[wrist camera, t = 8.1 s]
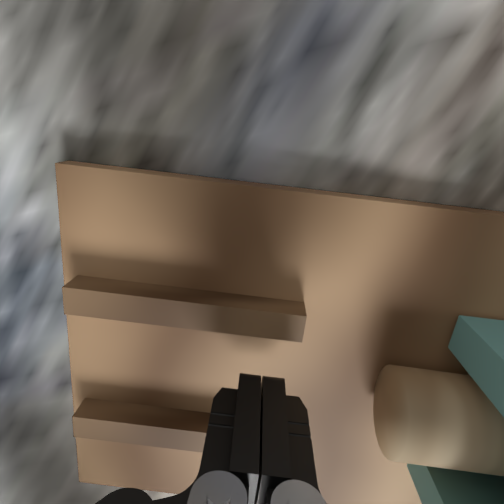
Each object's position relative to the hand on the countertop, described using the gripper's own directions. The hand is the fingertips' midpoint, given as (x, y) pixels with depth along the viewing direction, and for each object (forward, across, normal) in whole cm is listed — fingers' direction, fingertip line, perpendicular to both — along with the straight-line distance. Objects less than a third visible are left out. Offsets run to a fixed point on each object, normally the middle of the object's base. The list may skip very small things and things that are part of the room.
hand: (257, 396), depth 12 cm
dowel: (+2, -8, 0) cm, 9 cm away
